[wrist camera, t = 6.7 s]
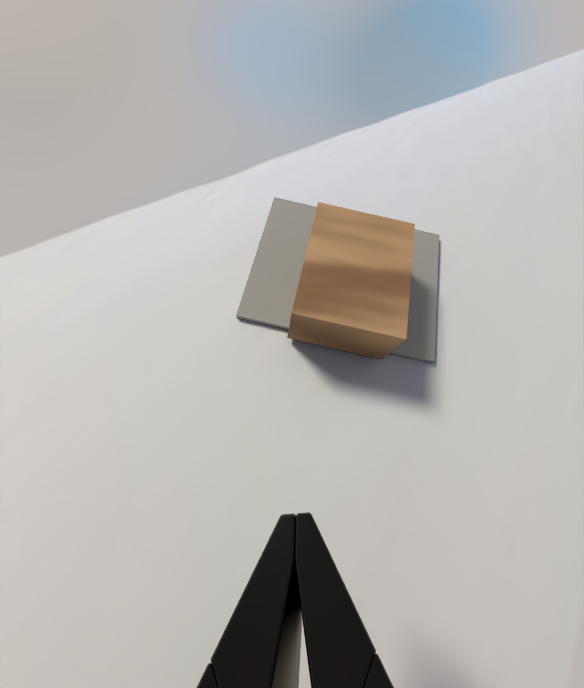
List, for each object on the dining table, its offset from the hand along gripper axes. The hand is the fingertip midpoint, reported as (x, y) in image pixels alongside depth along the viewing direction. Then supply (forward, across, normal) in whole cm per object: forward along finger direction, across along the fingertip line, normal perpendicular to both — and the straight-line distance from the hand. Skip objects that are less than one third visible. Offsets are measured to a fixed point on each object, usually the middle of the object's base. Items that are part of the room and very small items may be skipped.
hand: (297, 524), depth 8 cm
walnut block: (+12, -3, -2) cm, 12 cm away
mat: (+18, -5, -5) cm, 19 cm away
